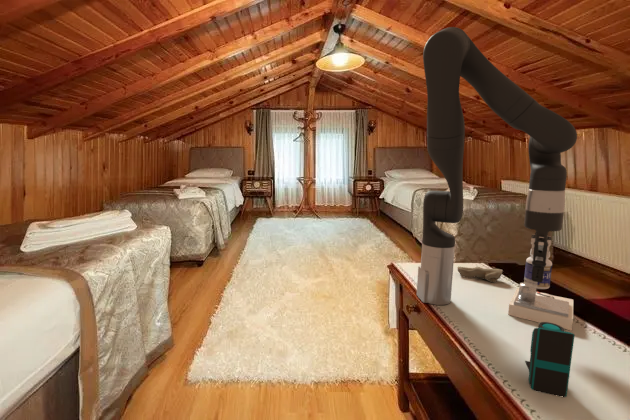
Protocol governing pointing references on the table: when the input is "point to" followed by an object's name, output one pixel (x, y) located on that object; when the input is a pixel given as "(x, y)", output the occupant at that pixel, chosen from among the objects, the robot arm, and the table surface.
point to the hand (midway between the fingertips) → (537, 277)
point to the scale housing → (540, 315)
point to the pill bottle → (546, 275)
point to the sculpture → (480, 273)
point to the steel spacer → (527, 292)
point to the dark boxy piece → (550, 359)
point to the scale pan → (545, 305)
